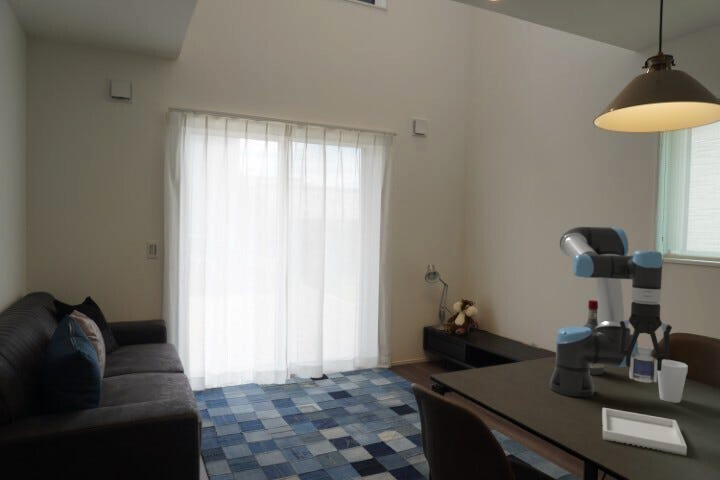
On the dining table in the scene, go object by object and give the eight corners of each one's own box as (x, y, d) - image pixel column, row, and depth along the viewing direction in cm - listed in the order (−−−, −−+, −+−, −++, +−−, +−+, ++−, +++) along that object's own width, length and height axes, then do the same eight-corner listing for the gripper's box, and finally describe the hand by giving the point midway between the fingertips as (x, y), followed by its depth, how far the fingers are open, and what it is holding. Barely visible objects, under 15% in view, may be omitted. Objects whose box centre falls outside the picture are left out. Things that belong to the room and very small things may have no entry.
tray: (602, 439, 138) (603, 430, 138) (602, 415, 156) (602, 407, 156) (686, 455, 130) (686, 446, 129) (675, 428, 147) (675, 420, 147)
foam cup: (686, 406, 166) (688, 369, 166) (654, 400, 171) (656, 364, 171) (685, 398, 174) (686, 362, 174) (654, 392, 179) (656, 358, 179)
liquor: (573, 368, 207) (576, 299, 206) (591, 367, 209) (594, 299, 208) (588, 375, 198) (591, 302, 197) (607, 374, 200) (610, 302, 199)
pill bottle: (656, 383, 142) (657, 350, 142) (636, 382, 143) (637, 349, 143) (648, 378, 147) (650, 346, 147) (629, 376, 148) (631, 345, 148)
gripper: (611, 300, 145) (608, 377, 146) (684, 306, 137) (681, 387, 138) (610, 298, 152) (607, 371, 152) (680, 303, 144) (676, 380, 145)
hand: (642, 379), depth 145 cm, fingers closed on pill bottle, 5 cm apart
